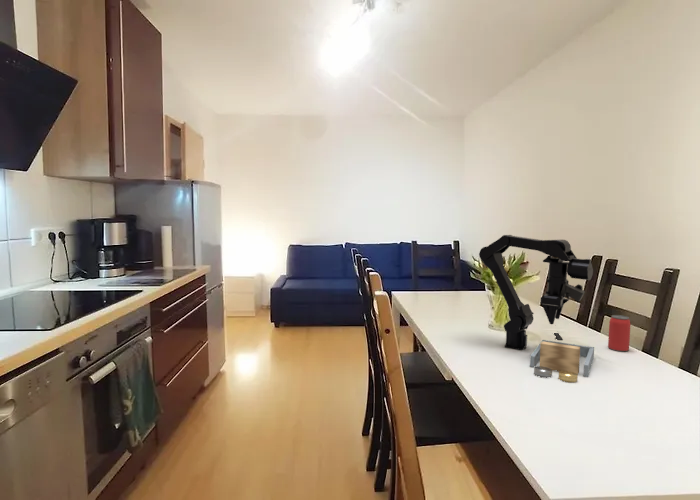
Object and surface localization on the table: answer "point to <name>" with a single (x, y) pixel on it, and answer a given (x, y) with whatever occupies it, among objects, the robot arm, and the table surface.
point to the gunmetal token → (543, 371)
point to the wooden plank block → (560, 357)
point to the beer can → (619, 333)
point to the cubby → (584, 350)
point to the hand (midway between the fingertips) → (554, 321)
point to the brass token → (568, 376)
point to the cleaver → (558, 336)
